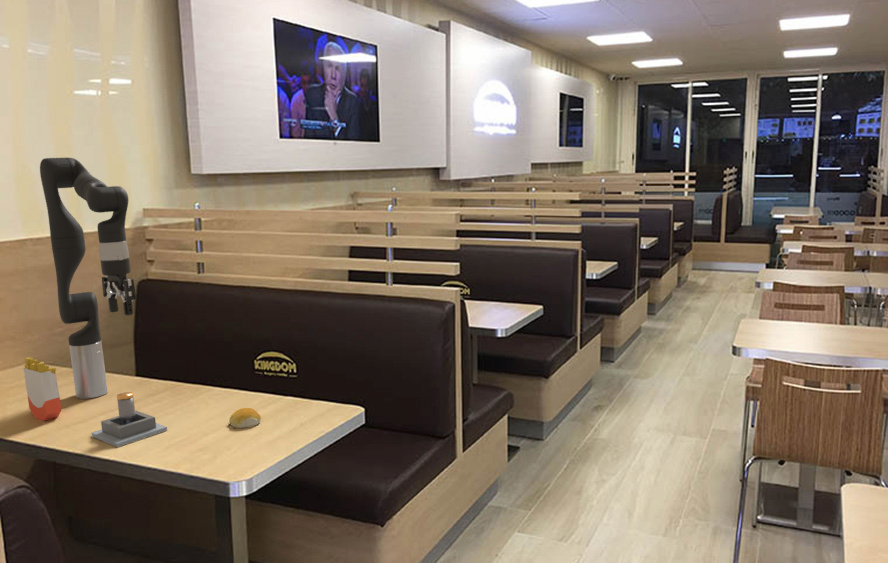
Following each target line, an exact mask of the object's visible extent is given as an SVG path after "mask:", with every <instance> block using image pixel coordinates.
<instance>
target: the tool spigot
mask: <svg viewBox="0 0 888 563" xmlns="http://www.w3.org/2000/svg"><path fill="white" fill-rule="evenodd" d="M134 398H135V397H134V392H133V391H131V392H130V391H126V392H121V393H118V394H116V401H117V408H118V416H119V418H120V425H121V426H123V425H126V424H129V423H132V422H135V421H136V415H135V411H136V409H135V408H136V406H135V400H134Z"/></svg>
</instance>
